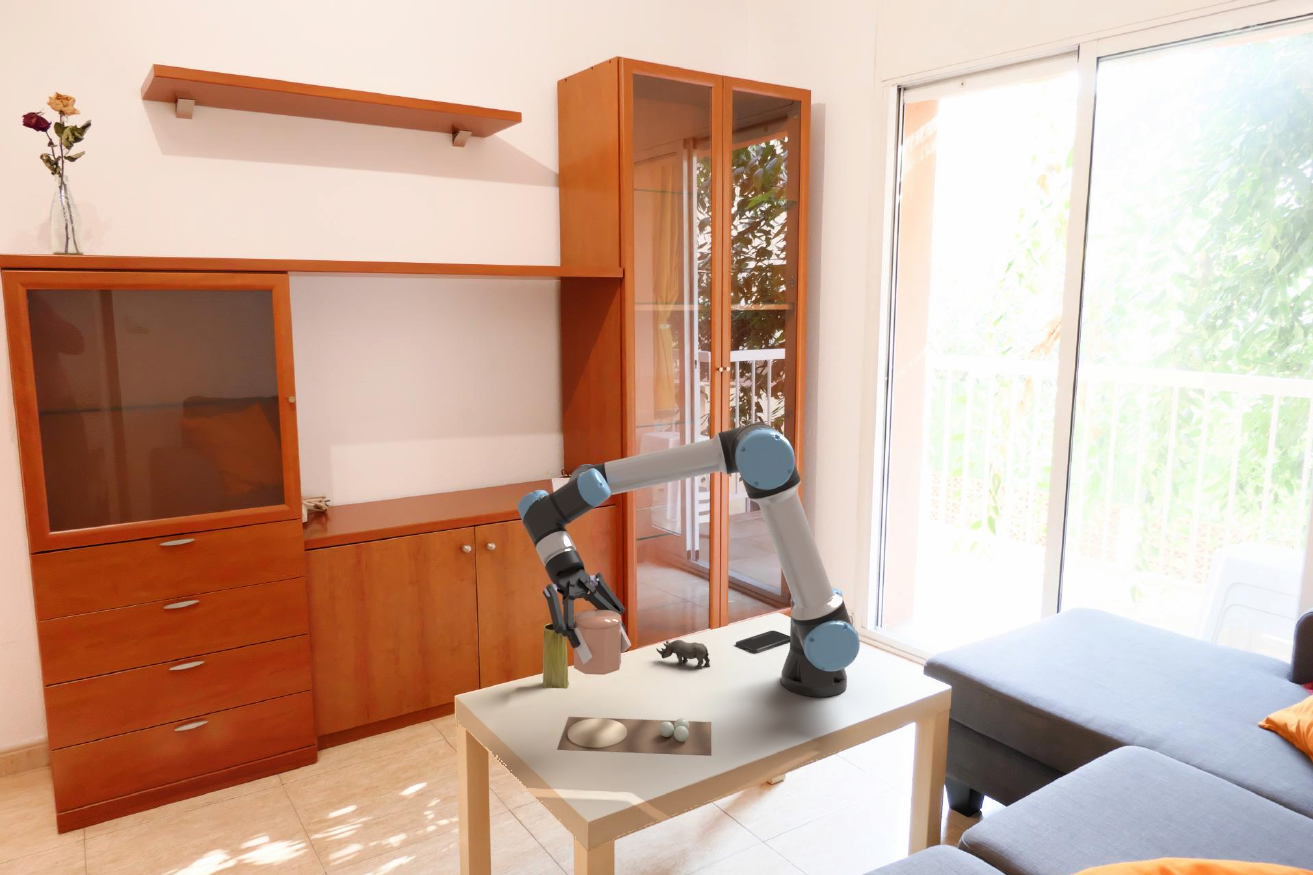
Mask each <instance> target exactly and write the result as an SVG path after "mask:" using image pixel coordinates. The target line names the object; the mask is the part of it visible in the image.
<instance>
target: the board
mask: <svg viewBox="0 0 1313 875" xmlns="http://www.w3.org/2000/svg"><path fill="white" fill-rule="evenodd" d="M594 718H595V717H587V716H586V717H585V716H584V717H583V716H581V717H580V716H568V717H567V720H566V724H565V726H564V729H563V731H562V734H561V736H560V740H559V743H558V746H557V748H556V749H557V750H559V751H560V750H561V751H584V752H585V751H586V752H587V751H588V752H605V753H607V752H609V753H610V752H611V753H634V754H655V755H656V754H658V755H659V754H660V755H661V754H662V755H681V756H682V755H684V756H685V755H687V756H709V757H710V756H712V722H711V721H697V720H695V721H693V720H692V721H691V720H687V721H688V723H689V729H688V732H689V736H688V739H687V740H686V741H684V742H679V741H677V740H676V739H675V737H674V732H673V734H672V735H671V736H670V737H664V736H662V735H661V734H660V732H659V727H660V725H661V724H662V723H663V722H666V721H667V722H670V723H672V725H673V726H674V725H675V722H676V720H671V719H670V720H669V719H668V720H666V719H665V720H664V719H643V718H641V719H640V718H637V719H636V718H613V717H610V718H608V717H602V718H603V719H611V720H614V721H617V722H619V723H621V724H623V725H624V726H625V727H626V729H627V736H626V738H625V739H624V740H623V741H622V742H620V743H619V744H617V745H614V746H610V747H606V748H586V747H582V746H578V745H576V744H574V743H573V742H571V741H570V740H569V738H568V730H569V728H570V727H571V726H572V725H574V724H575V723H577V722H580V721H583V720H587V719H594ZM674 730H675V727H674Z"/></svg>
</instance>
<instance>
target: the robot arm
mask: <svg viewBox="0 0 1313 875" xmlns="http://www.w3.org/2000/svg"><path fill="white" fill-rule="evenodd" d="M718 472H720V473H722V474H724V475H731V474H737V473H739V475H740V478H741V480H742V483H743V485H744V486H743V487H744V488H745V491H746V494H747V496H748V499H749V500H750V501H751V502H755V503H756V504H757V505H758V507H759V509H760V513H761V515H762V517H763V518H762V519H763V520H764V523H765V526H766V530H767V532H768V535H769V537H770V540H771V542H772V543H771V544H772V545H773V548H774V551H775V553H776V556H777V559H778V562H779V566H780V568H781V571H782V573H783V576H784V578H785V581H786V584H787V586H788V590H789V592H790V596H791V597H790V628H789V630H790V634H789V636H790V643H789V651H788V653H787V656H786V658H785V662H784V664H783V665H782V670H781V677H780V678H781V680H780V682H781V684H782V686H783V687H784V688H786V689H787V690H788V691H791V692H792V693H796V694H798V695H803V696H808V697H815V698H816V697H817V698H818V697H820V698H821V697H824V698H825V697H832V696H837V695H839V694H842V693H844V691H846V689H847V686H848V675H847V671H846V668H847V667H849V666H850V665H851V664H853V663H854V661H855V659H856V658H857V656H858V654H859V651H860V647H861V645H860V644H861V642H860V636H859V633H858V631H857V630H856V628H855V627H854V626H853V623H852V621H851V619H850V615H849V612H848V610H847V608H846V604H845V602H844V598H843V593H842V591H841V590H840V589H838V588H836V587H832V586H831V583H830V580H829V577H828V574H827V572H826V568H825V566H824V564H823V560H822V558H821V554H820V551H819V550H818V546H817V544H816V541H815V538H814V535H813V532H812V529H811V526H810V524H809V523H810V522H809V521H808V518H807V516H806V512H805V509H804V507H803V504H802V501H801V498H800V495H799V492H798V489H799V486H801V482H802V480H801V479H802V478H801V476H800V474H799V471H798V468H797V465H796V458H795V451H794V449H793V447H792V444H791V442H790V441H789V440H788V439H787V438H786V437H785V435H783V434H781V433H780V432H779V431H778V430H777V429H776V428H774V427H773V426H772V425H769V424H767V423H764V422H763V423H762V422H753V423H750V424H745V425H742V426H739V427H735V428H731V429H729V430H725V431H721V432H720V431H719V432H717V433H715V435H714V436H713V437H712V438H710V439H705V440H702V441H696V442H693V443H688V444H684V445H683V444H681V445H678V446H672V447H669V448H665V449H661V450H655V451H651V452H647V453H642V454H637V455H632V456H629V457H624V458H620V459H615V460H611V461H605V462H603V463H602V462H601V463H598V464H594V465H593V464H590V463H589V464H587V463H586V464H582V465H580V466H578V467H577V468H575V469H574V470H573V472H572V473H571V474H570V476H569V479H568V481H567V483H565V484H563V485H562V486H560V487H558V489H556V490H555V491H553V492H550V493H548V491H546V490H543V489H536V490H534V491H533V492H528V493H527V494H525V495H524V496H522V498H520V500H519V502H518V503H517V511H518V513H519V516H520V519H521V521H522V525H523V526H524V528H525V530H526V531H527V534H528V536H529V537H530V540H531V542H532V544H533V546H534V548H535V549H536V552H537V555H538V556H539V558H540V561H541V562H542V564H543V566H545V567H544V569H545V572H546V573H547V575H548V577H549V579H550V582H551V583H548V584H547V585H546V586H545V588H544V589H543V590H542V595H543V596H544V597H545V599H546V601H547V605H548V610H549V614H550V617H551V618H550V619H551V623H553V627H554V631H555V633H556V634H559V633H562V635H563V636H564V637H566V639H568V641H569V644H570V646H571V647H572V649H574V648H576V650H577V652H578V654H579V656H580V658H581V660H582V662H583V664H586V663H587V662H588V661H589V660H590V659H591V658H592V655H591V653H590V651H589V648H588V646H587V644H586V642H585V640H584V638H583V636H582V634H581V632H580V630H579V628H575V629H574V622H575V600H576V599H583V600H584V601H586V602H589V603H590V604H591V605H592V606H593V607H594V608H596V609H602V610H610V611H614V612H617V613H618V614H620V615H621V616H622V615H623V614H624V612H626V608H625V606H624V605H623V603H622V602H621V601H620V600H619V598H618V597H617V596H616V595H615V593H614V592H613V591H612V589H611V588H610V586H609V585H607V583H606V582H605V579H604V577H603V573H601V572H597V573H596V574H595V575H594V574H593V575H590V574H589V573H588V572H587V571H586V569H585V564H584V562H583V559H582V558H581V555H580V554H579V552H578V551H577V547H576V545H575V543H574V541H573V540H572V537H571V536H570V534H569V532H568V531H567V530H568V529H567V528H566V526H567V525H569V524H572V523H573V521H575V520H576V519H578V518H580V517H582V516H583V515H585V514H586V513H588V512H590V511H591V510H593V509H594V508H596V507H599V506H601V505H602V504H603V503H604V502H605V501H607V500H608V499H610V497H611V496H613V495H617V494H621V493H627V492H632V491H635V490H640V489H645V488H649V487H653V486H659V485H664V484H668V483H672V482H673V483H674V482H677V481H682V480H686V479H687V480H688V479H690V478H691V479H692V478H695V477H699V476H700V477H701V476H705V475H710V474H713V473H715V474H716V473H718ZM558 594H560V595H561V596H562V599H561V600H562V602H561V603H562V605H563V606H562V607H561V603H560V598H559V595H558ZM562 608H563V609H562ZM562 610H563V611H562ZM626 632H627V627H626V626H625V624H624V622H623V620H622V619H621V653H624V652H626V651H628V649H629V648H630V647H631V646H632V643H631V641H630V639H629V637H628V635H627V633H626Z"/></svg>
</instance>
